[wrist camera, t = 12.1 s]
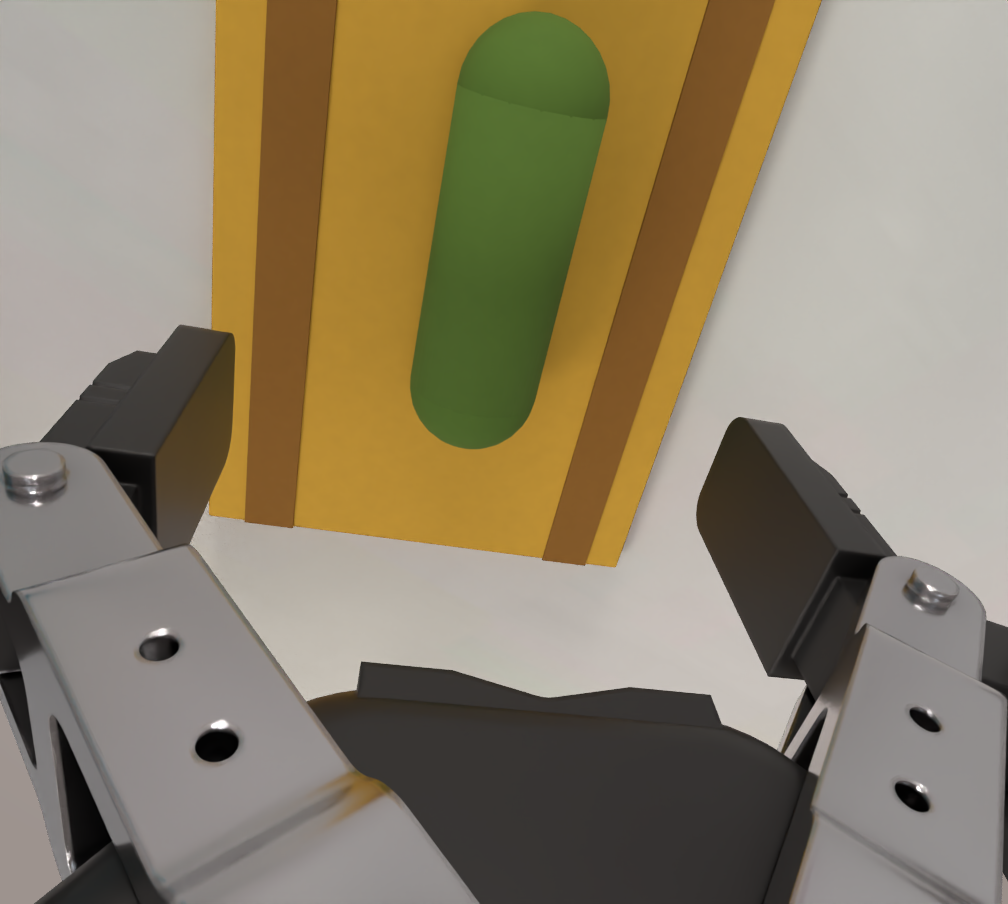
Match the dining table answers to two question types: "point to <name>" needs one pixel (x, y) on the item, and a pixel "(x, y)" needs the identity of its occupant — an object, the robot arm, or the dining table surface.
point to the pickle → (506, 224)
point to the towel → (406, 250)
